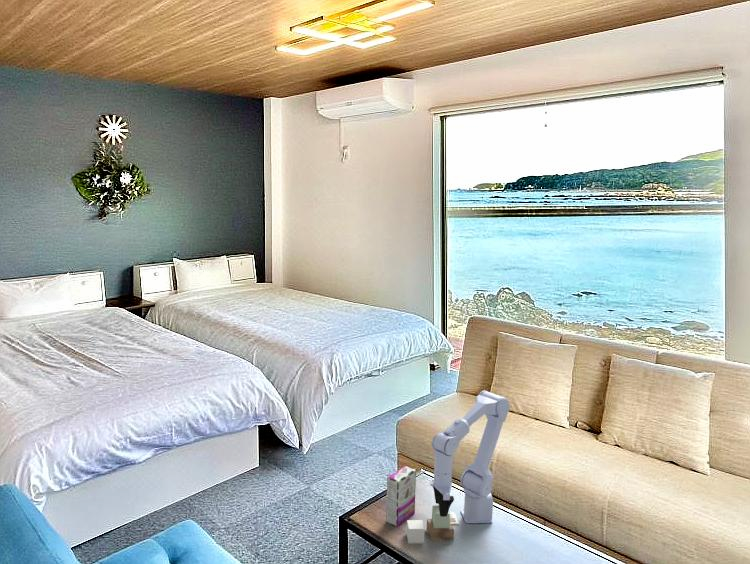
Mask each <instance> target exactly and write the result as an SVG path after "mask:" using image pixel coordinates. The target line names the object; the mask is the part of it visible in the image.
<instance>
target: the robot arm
mask: <svg viewBox="0 0 750 564" xmlns="http://www.w3.org/2000/svg"><path fill="white" fill-rule="evenodd" d="M510 407H511V405H510V402H509V399H508V398H507V397H505V396H501V395H499V394H495V393H492V392H490V391H487V390H482V391H480V392H479V394H478V395H476V398H475V403H474V404H473V405H472V407H471V408H470V409H469V410H468V412H466V413H465V415H464V416H463V417H462V418H456V419H455V420H454V421H453V422H452V423H451V424H450V425H449V426H448V427H447V428H446V429H445V430H444V431H443V432H438V433H436V434H435V435H434V436H433V438H432V442H431V448H432V449H433V454H434V466H433V467H434V471H433V480H431V481H429V485H430V487H432V489H433V492H434V493H433V494H434V500H435V504H437V505H438V506H439V512H440V516H441V517H446V516H447V514H448V511H449V512H450V507H451V505H452V504H453V503H454V501H455V496H453V495H451V490H452V487H453V483H452V482H453V481H452V480H453V479H452V478H453V477H452V476H453V461H454V458H453V457H454V454H455V453H456V452H457V450H458V447H459V446H460V442H462V440H463V439H464V438H465V437H466V436H467V435H468V434H469V433H470V427H471V426H472V425H474V423H476V422H477V421H478V420H479V419H481V418H482V417H483V416H485V417H486V419H487V421H486V424H485V427H484V431H483V434H482V437H481V439H480V444H479V446H478V449H477V452H476V455H475V458H474V461H473V463H471V464H468V465H466V467H465V469H464V472H463V473H462V474H461V476H460V485H461V487H462V488H463V491H464V502H463V503H464V505H463V508H461V509H460V513H461V516H462V518H463V521H464V523H465V524H493V511H494V510H493V509H494V500H493V495H492V490H493V480H494V475H493V474H492V472H491V470H490V469H489V468H490V466H491V462H492V459H493V456H494V452H495V449H496V447H497V443H498V441H499V437H500V434H501V431H502V427H503V425H504V422H506V419H507V417H508V414H509V410H510Z"/></svg>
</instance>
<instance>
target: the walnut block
mask: <svg viewBox="0 0 750 564" xmlns="http://www.w3.org/2000/svg"><path fill="white" fill-rule="evenodd" d="M426 531H427V534H428V535H429V537H430V539H431V541H432V543H434V542H435V543H436V542H445V541H454V538H455V528H454V525H451V523H450V526H449V528H434V526H433V522H432V518H427V519H426Z"/></svg>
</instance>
